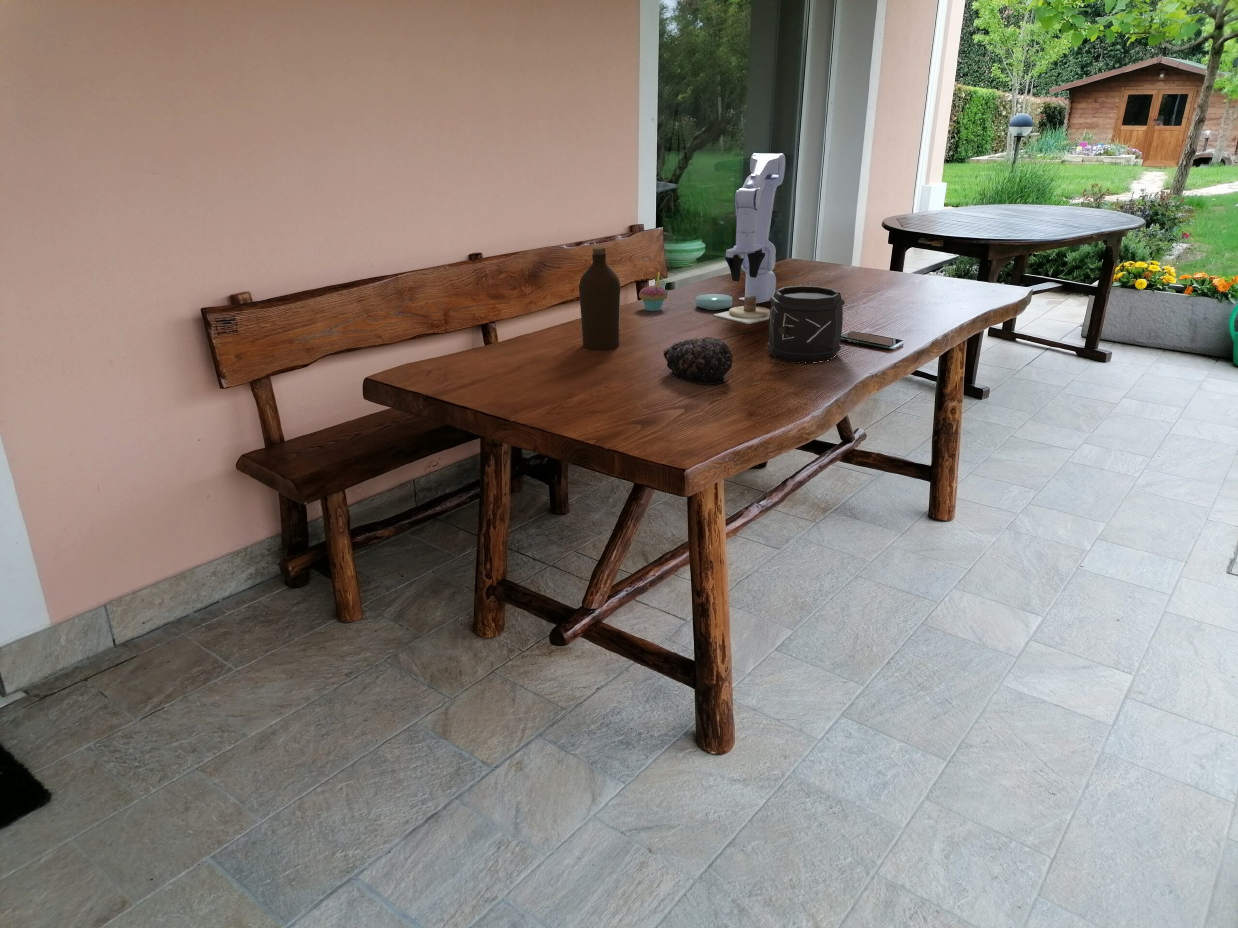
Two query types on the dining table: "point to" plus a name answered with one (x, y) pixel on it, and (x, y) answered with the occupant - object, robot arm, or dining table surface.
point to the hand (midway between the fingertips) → (744, 279)
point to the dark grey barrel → (805, 323)
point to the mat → (742, 320)
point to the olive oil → (600, 304)
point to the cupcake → (653, 296)
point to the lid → (749, 309)
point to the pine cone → (699, 360)
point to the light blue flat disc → (713, 301)
